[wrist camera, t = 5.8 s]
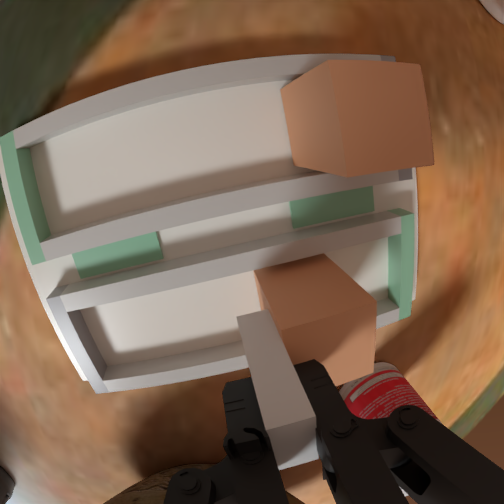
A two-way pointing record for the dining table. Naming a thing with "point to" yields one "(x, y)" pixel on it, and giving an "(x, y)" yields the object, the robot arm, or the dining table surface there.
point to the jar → (495, 8)
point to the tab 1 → (359, 117)
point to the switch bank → (190, 218)
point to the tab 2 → (321, 315)
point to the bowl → (161, 488)
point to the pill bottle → (381, 394)
